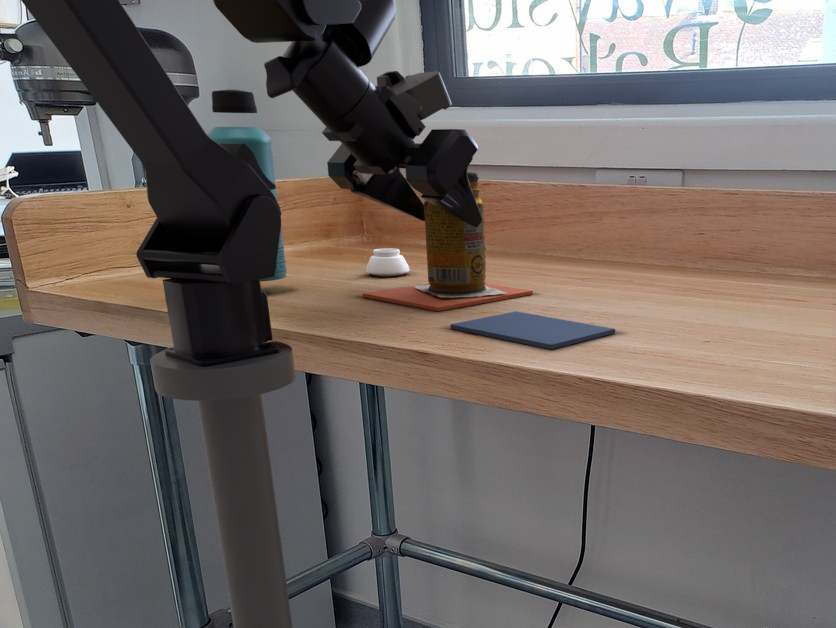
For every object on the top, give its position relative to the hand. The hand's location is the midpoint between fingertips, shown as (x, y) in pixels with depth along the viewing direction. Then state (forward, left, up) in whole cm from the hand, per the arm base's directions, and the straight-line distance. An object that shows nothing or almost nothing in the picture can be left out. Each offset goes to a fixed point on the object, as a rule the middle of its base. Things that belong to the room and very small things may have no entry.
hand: (452, 220), depth 88 cm
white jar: (+4, +17, -8) cm, 19 cm away
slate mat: (-8, -19, -8) cm, 22 cm away
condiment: (0, -1, -7) cm, 7 cm away
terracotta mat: (-1, 0, -8) cm, 8 cm away
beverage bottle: (-13, +17, -8) cm, 23 cm away
